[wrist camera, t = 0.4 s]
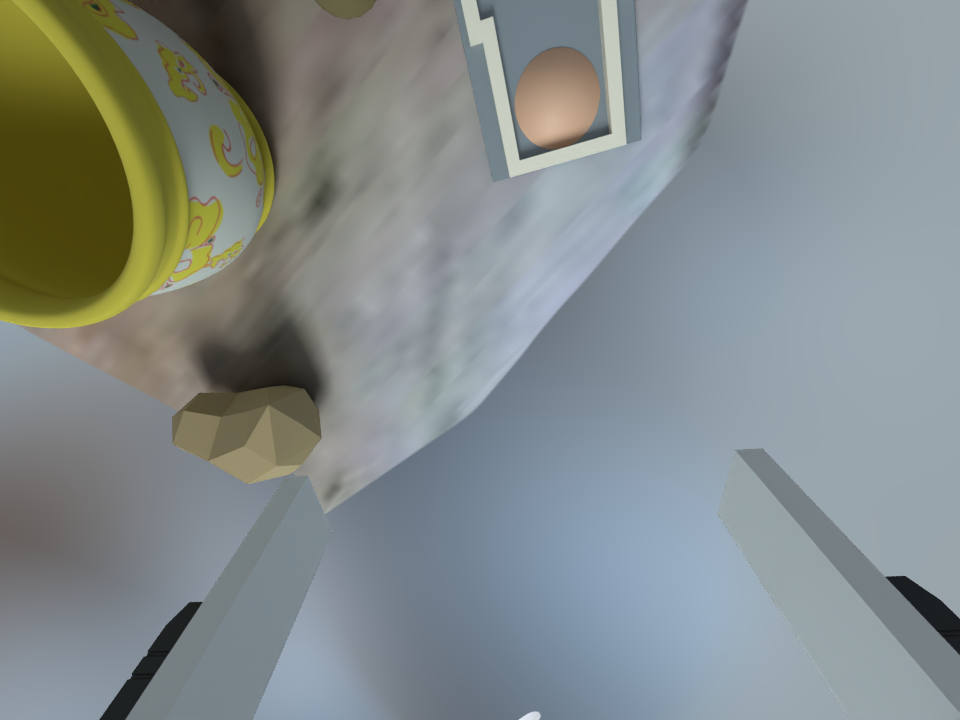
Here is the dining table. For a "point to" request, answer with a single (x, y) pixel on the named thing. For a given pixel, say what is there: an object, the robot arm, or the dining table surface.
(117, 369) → the dining table surface
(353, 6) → the cork
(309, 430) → the low-poly potato
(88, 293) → the flowerpot
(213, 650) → the robot arm
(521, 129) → the grey shallow tray
